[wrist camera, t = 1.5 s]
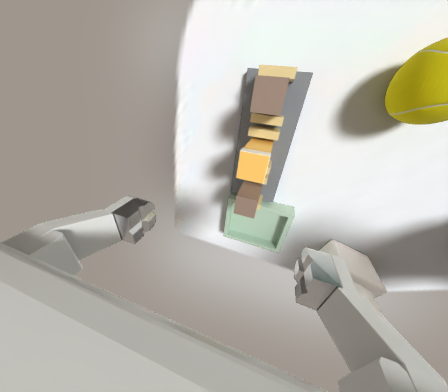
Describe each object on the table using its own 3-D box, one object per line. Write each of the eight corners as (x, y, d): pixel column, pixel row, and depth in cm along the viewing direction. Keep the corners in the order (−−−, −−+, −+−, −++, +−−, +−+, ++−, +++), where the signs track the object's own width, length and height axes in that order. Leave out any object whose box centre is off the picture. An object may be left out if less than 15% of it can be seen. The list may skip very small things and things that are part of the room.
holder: (249, 69, 22) (231, 51, 14) (311, 74, 20) (328, 56, 13) (232, 189, 32) (216, 216, 24) (272, 199, 30) (269, 231, 23)
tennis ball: (390, 49, 17) (444, 23, 12) (480, 41, 15) (598, 4, 10) (363, 120, 21) (394, 127, 15) (433, 121, 19) (500, 129, 13)
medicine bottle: (340, 274, 34) (363, 344, 24) (308, 258, 34) (318, 320, 24) (368, 255, 30) (410, 331, 20) (332, 237, 30) (355, 303, 20)
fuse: (274, 138, 24) (270, 156, 16) (269, 158, 25) (263, 184, 17) (254, 134, 24) (239, 150, 16) (250, 154, 26) (235, 178, 18)
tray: (293, 206, 30) (294, 215, 27) (278, 243, 35) (278, 253, 33) (231, 191, 32) (228, 198, 30) (226, 228, 37) (223, 236, 35)
